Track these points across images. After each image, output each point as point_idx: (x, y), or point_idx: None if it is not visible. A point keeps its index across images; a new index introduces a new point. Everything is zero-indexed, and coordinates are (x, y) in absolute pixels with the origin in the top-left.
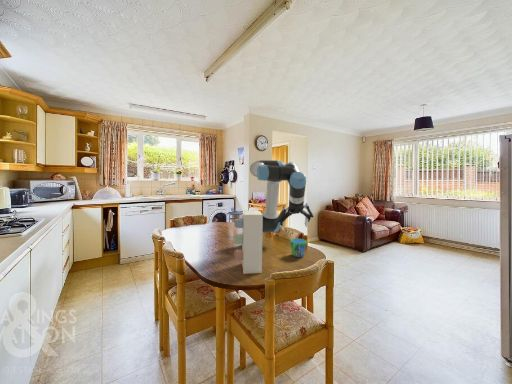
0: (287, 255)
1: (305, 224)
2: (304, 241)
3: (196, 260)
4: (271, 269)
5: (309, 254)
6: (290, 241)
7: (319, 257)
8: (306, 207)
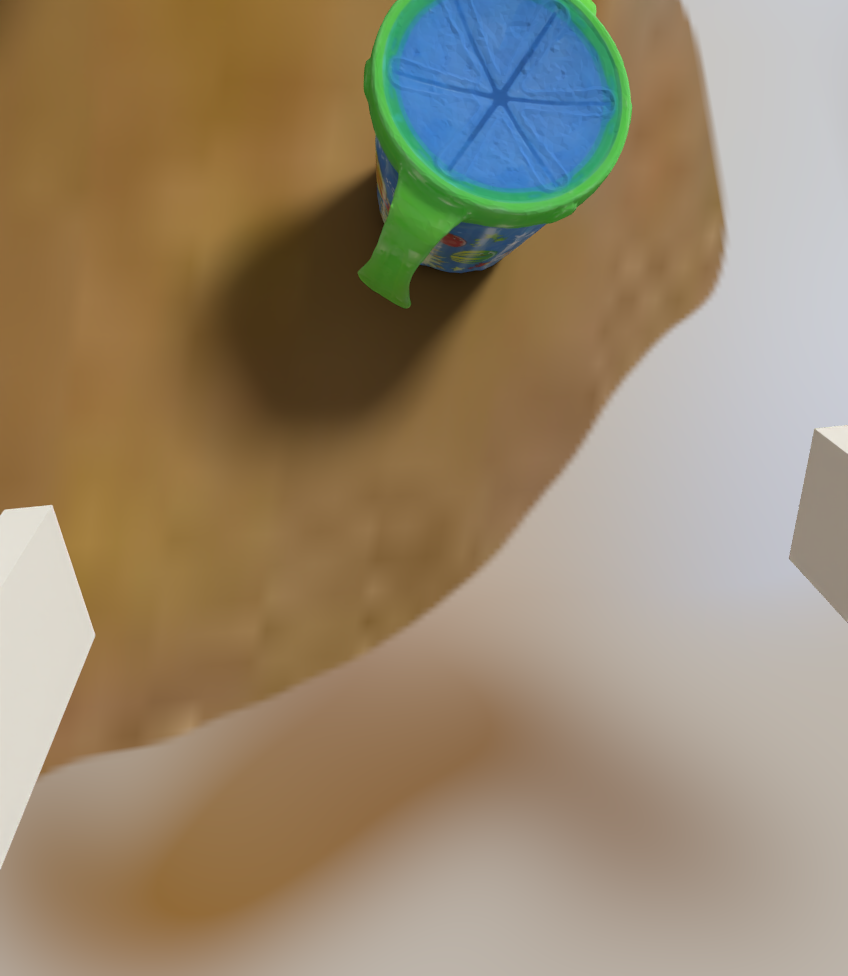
0: (310, 199)
1: (825, 521)
2: (599, 107)
3: None
4: None
5: None
6: (368, 86)
7: (695, 273)
8: None
